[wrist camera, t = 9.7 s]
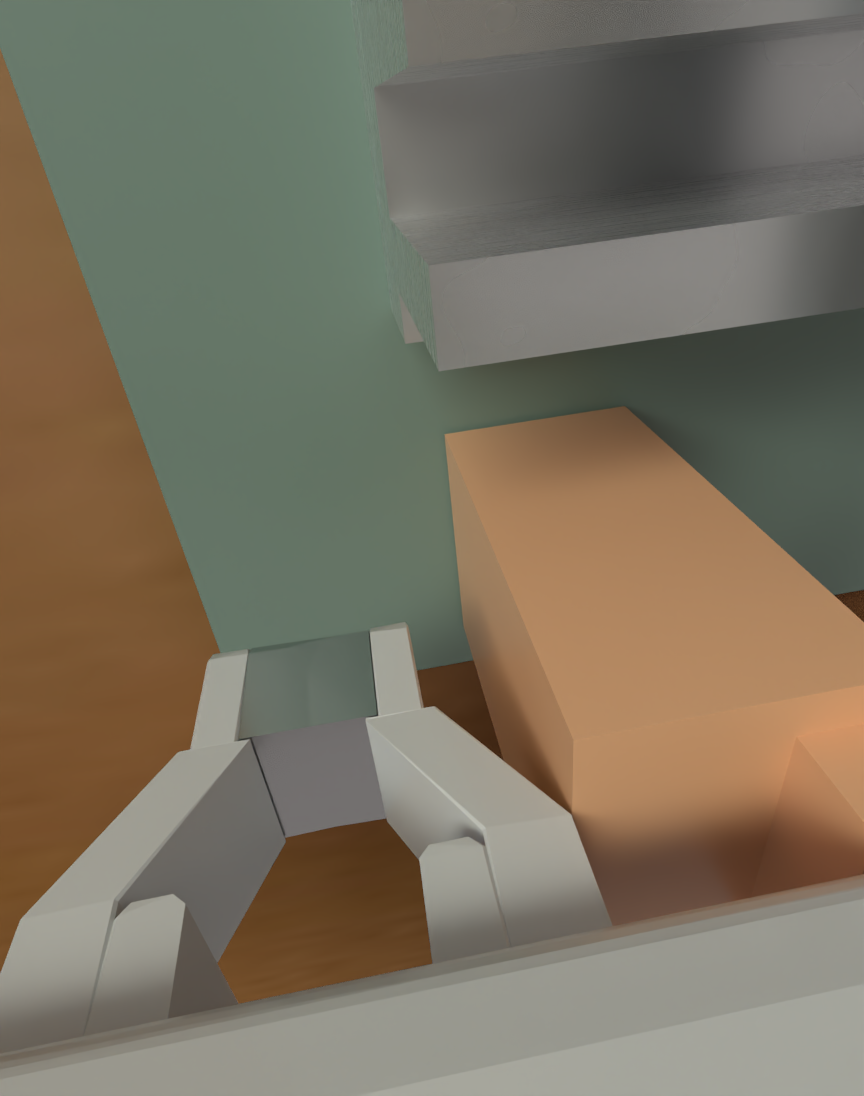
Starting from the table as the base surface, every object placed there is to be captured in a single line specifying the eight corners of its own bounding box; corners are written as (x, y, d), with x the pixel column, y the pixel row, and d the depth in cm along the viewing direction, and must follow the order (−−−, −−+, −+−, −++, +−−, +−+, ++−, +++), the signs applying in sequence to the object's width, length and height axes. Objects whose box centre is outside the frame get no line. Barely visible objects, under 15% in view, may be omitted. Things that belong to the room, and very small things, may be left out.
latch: (444, 434, 11) (620, 852, 5) (798, 378, 11) (1398, 693, 5) (463, 626, 13) (601, 1086, 7) (759, 573, 13) (1143, 961, 7)
